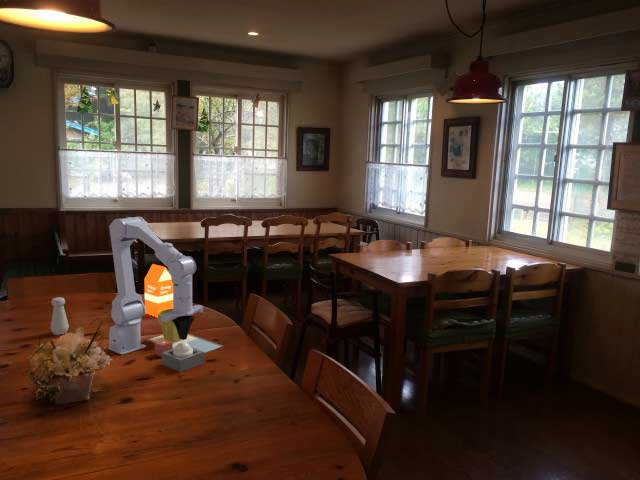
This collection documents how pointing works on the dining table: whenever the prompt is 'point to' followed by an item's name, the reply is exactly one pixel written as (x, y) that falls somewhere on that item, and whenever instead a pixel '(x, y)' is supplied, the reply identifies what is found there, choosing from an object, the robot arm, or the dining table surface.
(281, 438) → the dining table surface
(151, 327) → the dining table surface
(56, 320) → the salt shaker
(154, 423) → the dining table surface
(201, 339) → the game board
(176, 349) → the dome button
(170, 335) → the plant pot
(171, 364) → the dome base
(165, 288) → the orange juice
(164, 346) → the red die
